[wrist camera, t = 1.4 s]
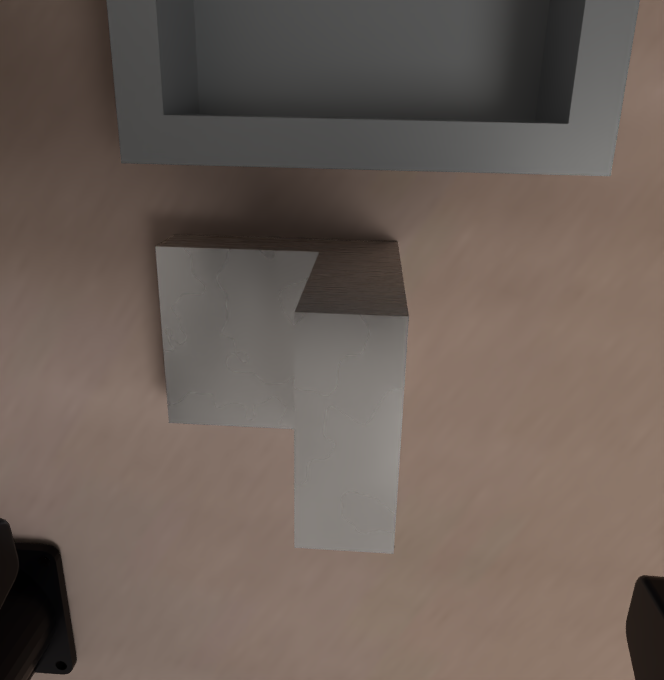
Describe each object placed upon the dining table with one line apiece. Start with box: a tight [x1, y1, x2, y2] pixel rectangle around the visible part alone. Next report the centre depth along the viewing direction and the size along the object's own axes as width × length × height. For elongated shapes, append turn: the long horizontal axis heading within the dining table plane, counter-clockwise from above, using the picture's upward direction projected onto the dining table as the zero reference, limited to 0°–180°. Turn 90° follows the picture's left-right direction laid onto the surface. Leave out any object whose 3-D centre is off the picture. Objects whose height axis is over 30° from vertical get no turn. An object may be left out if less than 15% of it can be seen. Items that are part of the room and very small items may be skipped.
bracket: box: [155, 234, 409, 554], centre depth 18 cm, size 6×7×8 cm
